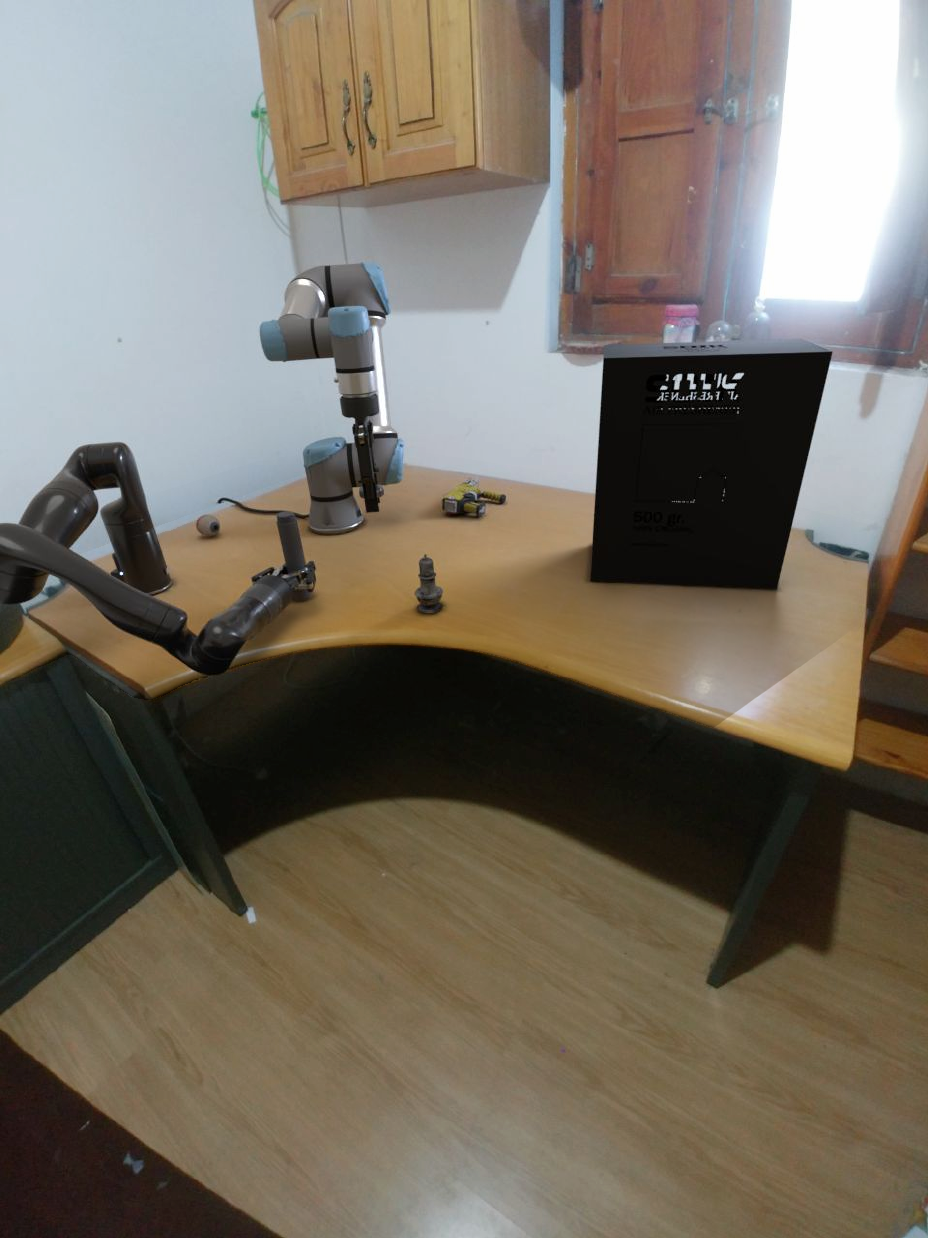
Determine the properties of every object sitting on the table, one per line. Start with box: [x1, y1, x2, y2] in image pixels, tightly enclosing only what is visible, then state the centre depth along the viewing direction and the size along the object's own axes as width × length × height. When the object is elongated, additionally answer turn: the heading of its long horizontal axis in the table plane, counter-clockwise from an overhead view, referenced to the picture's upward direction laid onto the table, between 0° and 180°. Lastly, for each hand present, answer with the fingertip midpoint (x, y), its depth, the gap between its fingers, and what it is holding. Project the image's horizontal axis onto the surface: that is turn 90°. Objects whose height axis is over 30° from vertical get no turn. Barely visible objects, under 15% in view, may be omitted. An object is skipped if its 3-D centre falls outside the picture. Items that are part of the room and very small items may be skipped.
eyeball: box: [196, 514, 221, 538], centre depth 165 cm, size 6×6×6 cm
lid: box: [358, 484, 385, 500], centre depth 129 cm, size 5×5×2 cm
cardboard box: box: [589, 338, 834, 590], centre depth 125 cm, size 38×20×45 cm, turn 78°
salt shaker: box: [413, 553, 444, 614], centre depth 122 cm, size 6×6×12 cm
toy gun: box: [441, 477, 507, 518], centre depth 177 cm, size 5×24×15 cm
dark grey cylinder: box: [275, 510, 313, 603], centre depth 127 cm, size 4×4×19 cm
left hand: (302, 564), depth 131 cm, fingers closed on dark grey cylinder, 4 cm apart
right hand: (373, 507), depth 130 cm, fingers closed on lid, 5 cm apart
